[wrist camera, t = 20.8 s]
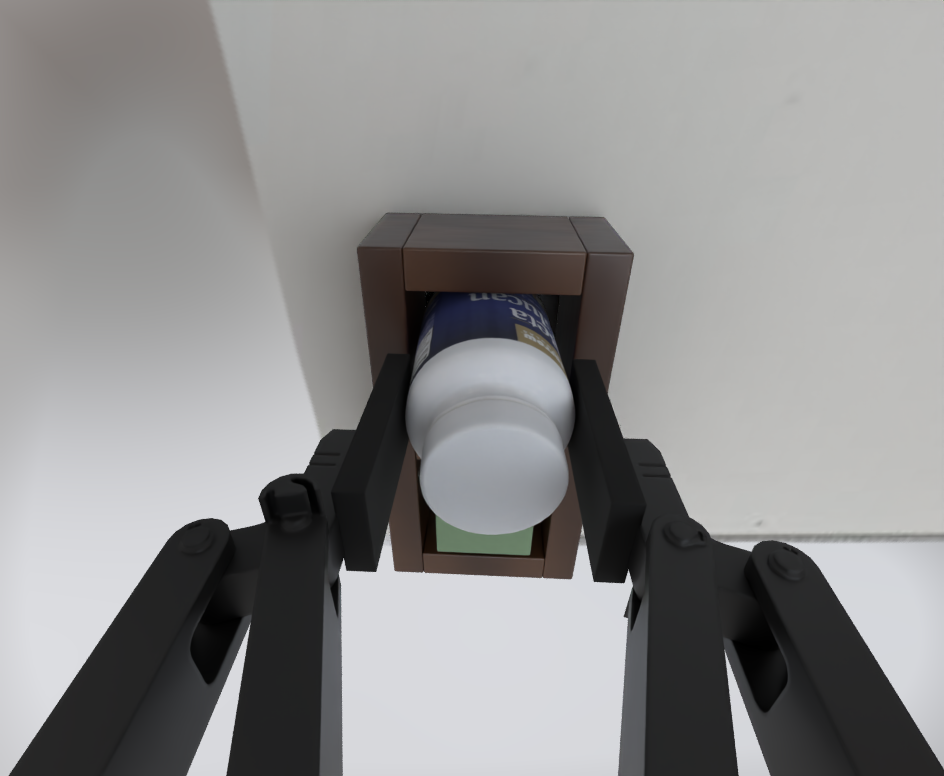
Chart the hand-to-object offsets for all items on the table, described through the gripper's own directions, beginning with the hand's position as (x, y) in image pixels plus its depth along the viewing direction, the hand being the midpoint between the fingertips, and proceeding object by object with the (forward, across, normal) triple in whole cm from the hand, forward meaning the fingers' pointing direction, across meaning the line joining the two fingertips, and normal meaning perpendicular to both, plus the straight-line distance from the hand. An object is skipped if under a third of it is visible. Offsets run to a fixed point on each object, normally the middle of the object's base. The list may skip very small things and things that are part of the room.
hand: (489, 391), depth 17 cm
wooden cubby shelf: (+6, 0, -4) cm, 7 cm away
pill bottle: (+5, 0, 0) cm, 5 cm away
